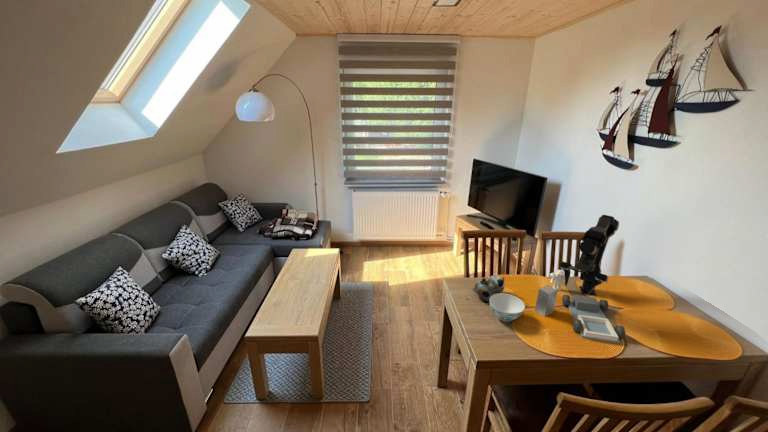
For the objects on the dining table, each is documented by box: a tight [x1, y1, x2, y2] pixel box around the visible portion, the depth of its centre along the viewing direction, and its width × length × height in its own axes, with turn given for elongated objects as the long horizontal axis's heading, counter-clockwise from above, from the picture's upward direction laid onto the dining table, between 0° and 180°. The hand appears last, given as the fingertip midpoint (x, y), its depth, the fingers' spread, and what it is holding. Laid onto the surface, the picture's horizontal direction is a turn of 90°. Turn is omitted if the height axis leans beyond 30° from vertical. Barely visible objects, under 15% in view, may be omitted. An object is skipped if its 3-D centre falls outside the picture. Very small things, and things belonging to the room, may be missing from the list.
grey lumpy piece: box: [472, 274, 506, 303], centre depth 164 cm, size 15×12×14 cm
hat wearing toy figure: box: [549, 269, 565, 291], centre depth 169 cm, size 9×4×12 cm, turn 88°
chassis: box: [561, 294, 626, 344], centre depth 147 cm, size 27×18×5 cm, turn 165°
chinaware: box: [489, 292, 526, 323], centre depth 148 cm, size 15×15×8 cm
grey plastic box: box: [534, 284, 558, 317], centre depth 152 cm, size 6×5×12 cm
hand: (576, 289), depth 147 cm, fingers open, 9 cm apart
